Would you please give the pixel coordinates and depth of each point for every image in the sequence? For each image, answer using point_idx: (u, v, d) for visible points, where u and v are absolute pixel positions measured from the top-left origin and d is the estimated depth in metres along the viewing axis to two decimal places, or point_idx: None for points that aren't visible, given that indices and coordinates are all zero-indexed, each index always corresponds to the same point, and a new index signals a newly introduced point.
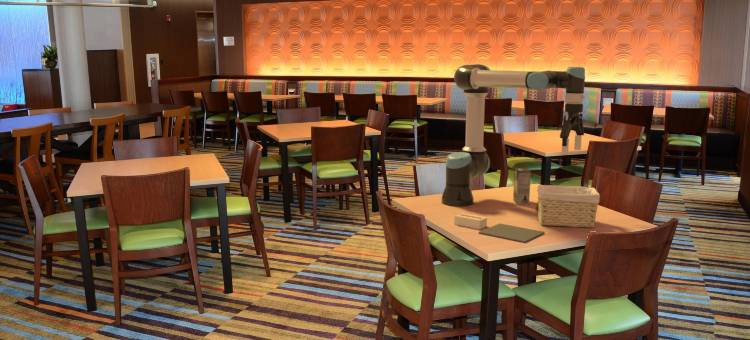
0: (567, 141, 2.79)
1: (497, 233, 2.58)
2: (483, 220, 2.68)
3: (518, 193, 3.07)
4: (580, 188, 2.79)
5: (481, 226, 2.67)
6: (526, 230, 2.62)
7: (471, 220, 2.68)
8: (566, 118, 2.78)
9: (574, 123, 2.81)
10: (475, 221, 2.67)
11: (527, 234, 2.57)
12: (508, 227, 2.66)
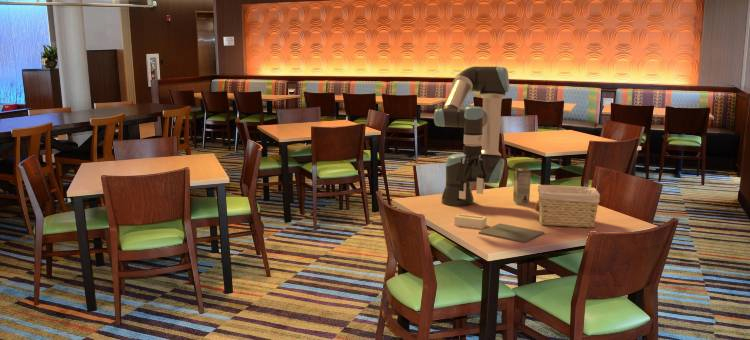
0: (464, 186, 2.62)
1: (497, 233, 2.58)
2: (484, 219, 2.69)
3: (518, 193, 3.07)
4: (581, 188, 2.79)
5: (483, 226, 2.68)
6: (526, 230, 2.62)
7: (473, 220, 2.68)
8: (463, 161, 2.61)
9: (472, 166, 2.64)
10: (477, 221, 2.67)
11: (527, 234, 2.57)
12: (508, 227, 2.66)
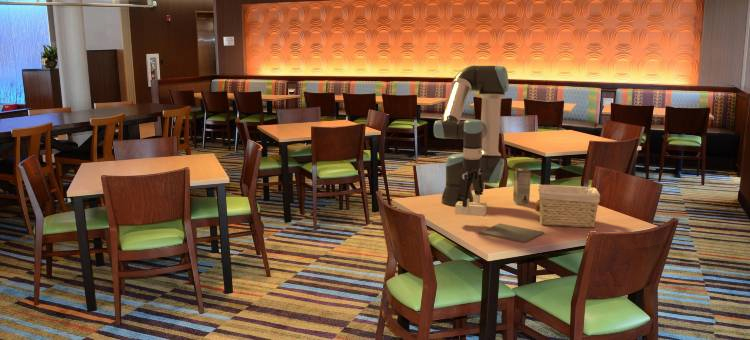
0: (467, 201, 2.66)
1: (497, 233, 2.58)
2: (485, 206, 2.69)
3: (518, 193, 3.07)
4: (581, 188, 2.79)
5: (484, 213, 2.68)
6: (526, 230, 2.62)
7: (475, 207, 2.67)
8: (463, 178, 2.63)
9: (473, 180, 2.66)
10: (479, 208, 2.67)
11: (527, 234, 2.57)
12: (508, 227, 2.66)
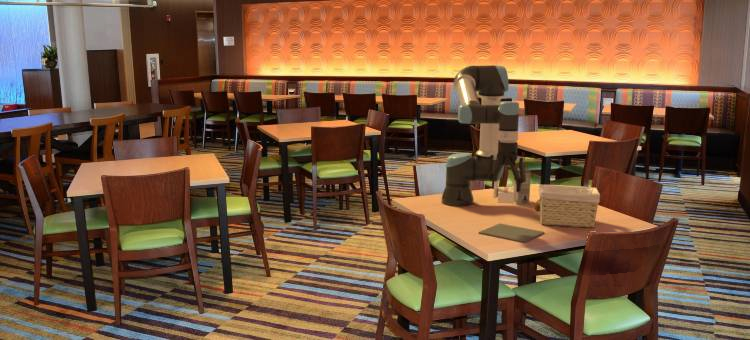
0: (494, 184, 2.60)
1: (497, 233, 2.58)
2: (506, 194, 2.53)
3: (518, 193, 3.07)
4: (582, 188, 2.79)
5: (501, 200, 2.53)
6: (526, 230, 2.62)
7: (498, 192, 2.57)
8: None
9: (501, 163, 2.56)
10: None
11: (527, 234, 2.57)
12: (508, 227, 2.66)
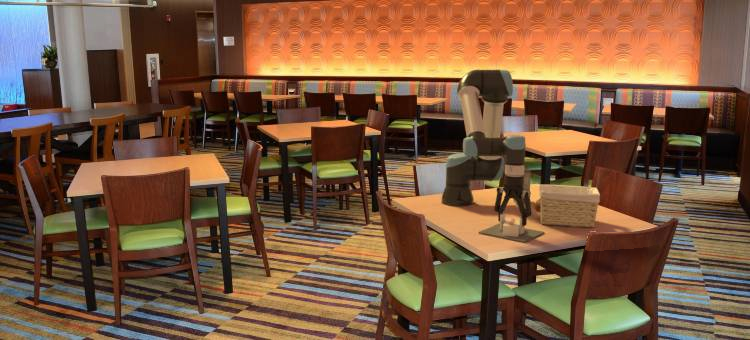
0: None
1: (497, 233, 2.58)
2: (510, 227, 2.53)
3: None
4: (582, 188, 2.79)
5: (506, 233, 2.54)
6: (526, 230, 2.62)
7: None
8: None
9: (507, 197, 2.57)
10: None
11: (527, 234, 2.57)
12: None
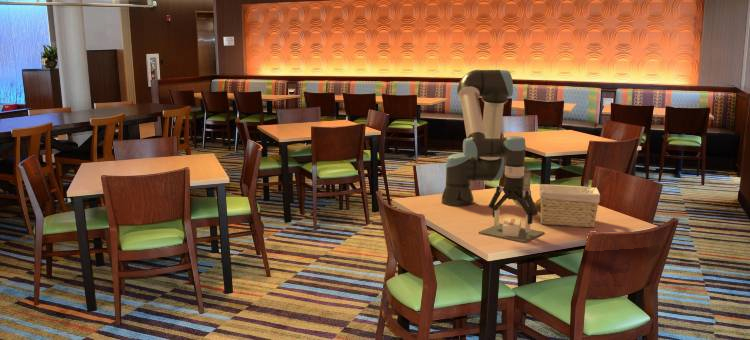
0: (494, 213, 2.62)
1: (497, 233, 2.58)
2: (510, 227, 2.53)
3: None
4: (582, 188, 2.79)
5: (506, 233, 2.54)
6: None
7: None
8: None
9: (505, 197, 2.57)
10: None
11: (527, 234, 2.57)
12: None
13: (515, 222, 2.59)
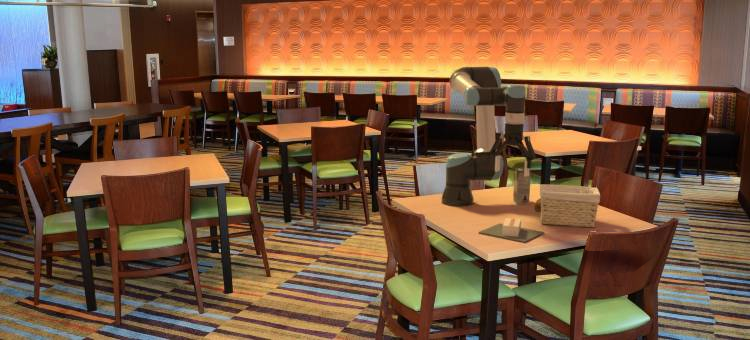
0: None
1: (497, 233, 2.58)
2: (510, 227, 2.53)
3: (518, 193, 3.07)
4: (583, 188, 2.79)
5: (506, 233, 2.54)
6: (526, 230, 2.62)
7: None
8: None
9: (505, 143, 2.69)
10: None
11: (527, 234, 2.57)
12: None
13: (515, 222, 2.59)
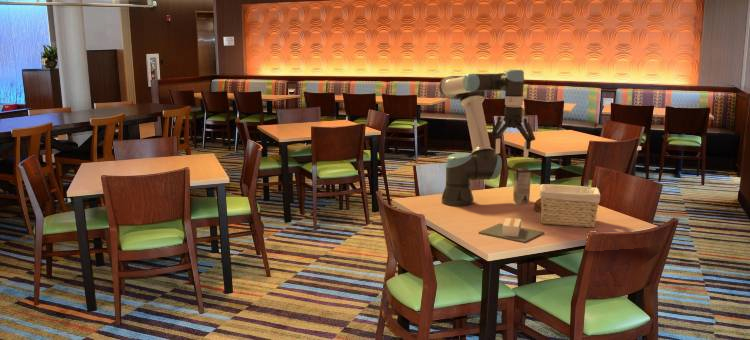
0: (496, 141, 2.87)
1: (497, 233, 2.58)
2: (510, 227, 2.53)
3: (518, 193, 3.07)
4: (583, 188, 2.79)
5: (506, 233, 2.54)
6: (526, 230, 2.62)
7: None
8: None
9: (505, 125, 2.82)
10: None
11: (527, 234, 2.57)
12: None
13: (515, 222, 2.59)
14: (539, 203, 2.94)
